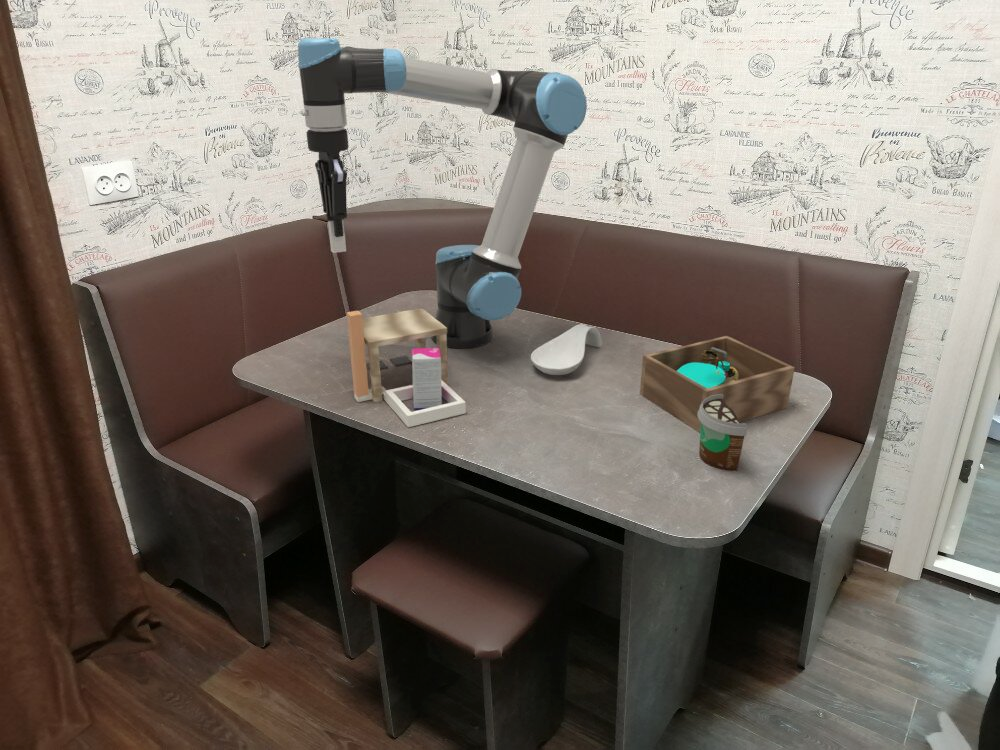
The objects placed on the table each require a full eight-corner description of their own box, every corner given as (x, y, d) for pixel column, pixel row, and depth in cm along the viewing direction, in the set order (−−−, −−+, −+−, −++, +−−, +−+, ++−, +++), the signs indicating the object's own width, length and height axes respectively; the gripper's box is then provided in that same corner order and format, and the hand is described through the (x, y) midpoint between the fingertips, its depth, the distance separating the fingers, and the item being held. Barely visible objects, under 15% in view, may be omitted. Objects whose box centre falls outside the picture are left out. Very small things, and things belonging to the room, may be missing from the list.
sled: (431, 380, 163) (428, 298, 155) (465, 413, 150) (463, 325, 142) (354, 397, 156) (346, 312, 148) (382, 433, 142) (375, 341, 134)
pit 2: (405, 357, 175) (405, 355, 175) (412, 363, 172) (412, 361, 172) (389, 360, 173) (389, 358, 173) (396, 366, 170) (395, 365, 170)
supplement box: (442, 409, 151) (441, 358, 147) (413, 411, 151) (410, 359, 146) (441, 396, 157) (439, 346, 152) (412, 398, 156) (410, 348, 151)
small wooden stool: (424, 363, 172) (421, 308, 166) (448, 385, 161) (447, 327, 155) (353, 377, 165) (348, 320, 159) (374, 402, 154) (369, 342, 148)
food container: (683, 441, 140) (689, 393, 136) (715, 439, 140) (722, 392, 136) (705, 477, 129) (712, 426, 125) (739, 475, 129) (748, 425, 125)
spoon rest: (566, 386, 162) (567, 356, 158) (520, 373, 167) (521, 344, 164) (614, 350, 179) (616, 323, 176) (571, 340, 185) (572, 313, 182)
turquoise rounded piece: (764, 401, 155) (775, 334, 149) (714, 429, 144) (724, 358, 138) (706, 379, 165) (715, 315, 158) (655, 404, 154) (662, 336, 148)
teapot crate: (721, 372, 167) (726, 335, 164) (787, 407, 152) (794, 367, 148) (639, 394, 158) (643, 355, 154) (701, 433, 142) (706, 391, 139)
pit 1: (381, 362, 173) (381, 360, 172) (387, 368, 169) (387, 366, 169) (365, 365, 171) (365, 363, 171) (370, 371, 168) (370, 370, 167)
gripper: (297, 125, 143) (311, 246, 153) (316, 133, 132) (329, 262, 143) (335, 123, 146) (346, 241, 156) (356, 131, 136) (367, 256, 146)
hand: (338, 251), depth 149 cm, fingers closed
